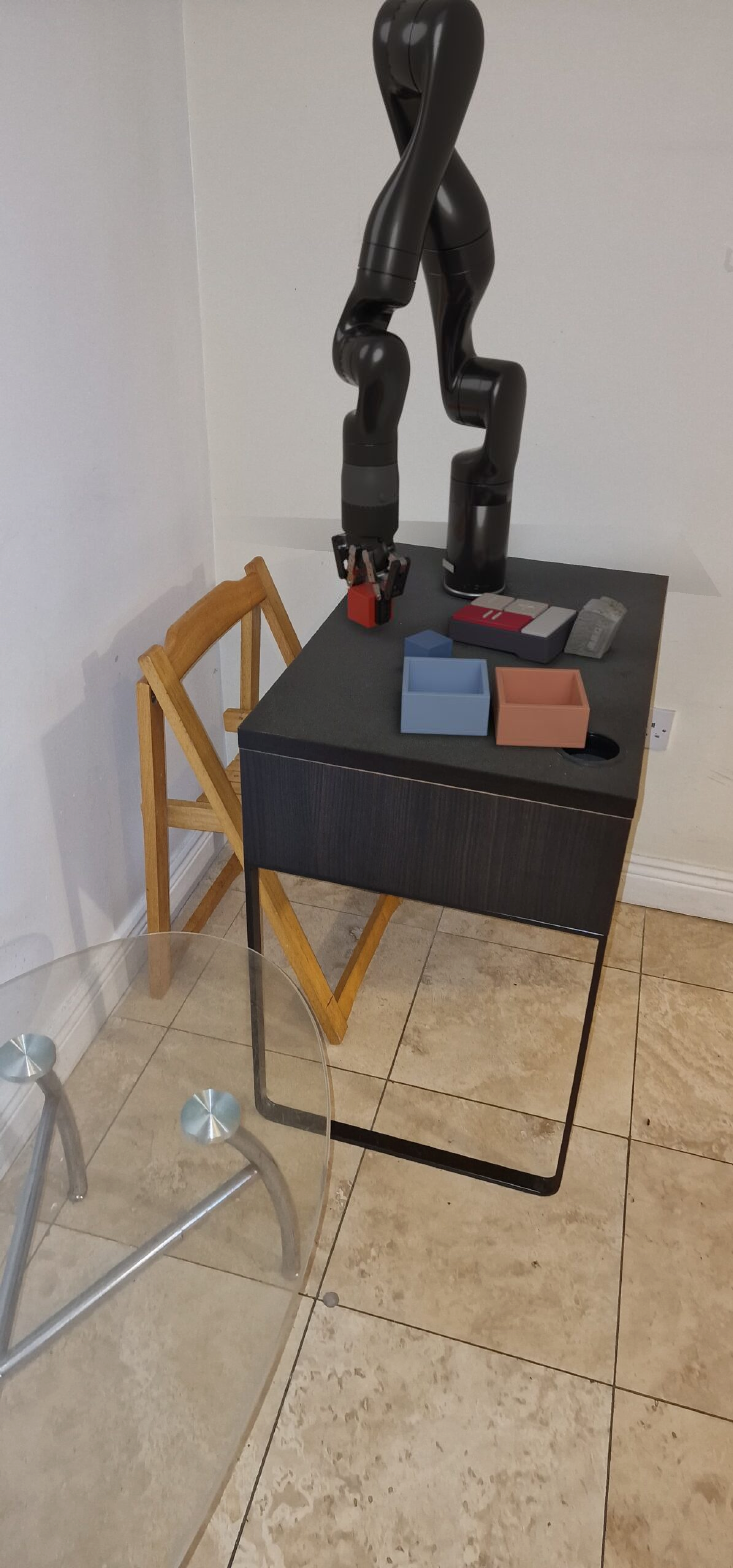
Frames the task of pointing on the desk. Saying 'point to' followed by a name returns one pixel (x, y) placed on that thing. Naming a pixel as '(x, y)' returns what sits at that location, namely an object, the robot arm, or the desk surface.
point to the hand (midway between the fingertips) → (369, 616)
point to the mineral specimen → (595, 627)
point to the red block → (363, 604)
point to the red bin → (540, 707)
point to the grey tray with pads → (514, 626)
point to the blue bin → (445, 696)
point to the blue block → (428, 645)
